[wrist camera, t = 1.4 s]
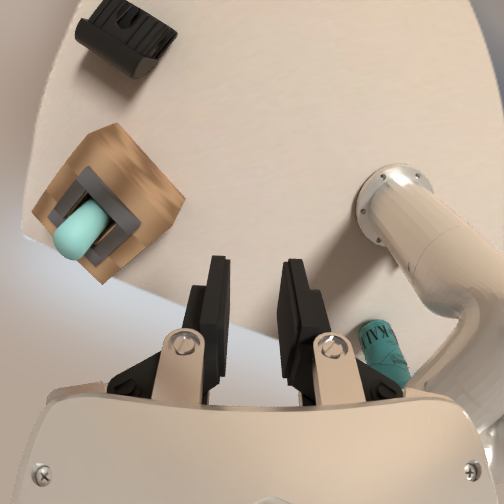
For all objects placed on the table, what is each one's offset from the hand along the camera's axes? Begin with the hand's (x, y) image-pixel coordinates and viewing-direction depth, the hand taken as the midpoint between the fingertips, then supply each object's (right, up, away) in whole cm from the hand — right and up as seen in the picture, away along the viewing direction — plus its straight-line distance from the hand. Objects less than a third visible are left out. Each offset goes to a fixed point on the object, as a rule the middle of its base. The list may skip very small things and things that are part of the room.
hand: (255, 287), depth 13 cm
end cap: (-14, +28, +15) cm, 35 cm away
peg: (-19, +7, +22) cm, 29 cm away
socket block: (-19, +10, +26) cm, 33 cm away
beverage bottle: (+22, -12, +40) cm, 47 cm away
